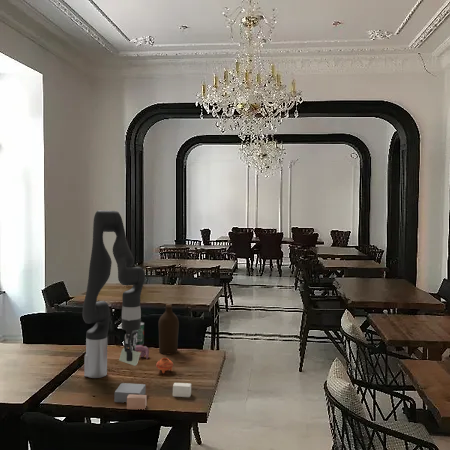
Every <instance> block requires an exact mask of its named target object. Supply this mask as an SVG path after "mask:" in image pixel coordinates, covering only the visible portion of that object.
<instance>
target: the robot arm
mask: <svg viewBox="0 0 450 450" xmlns="http://www.w3.org/2000/svg"><path fill="white" fill-rule="evenodd" d="M92 229H93V230H92V246H91V253H90V254H91V255H90V260H89V269H88V279H87V287H86V292H85V296H84V300H83V306H82V312H81V313H82V320H83V321H84V324H90V325H91V324H94V325H93V326H92V327H91V328H89V329H87V331H86V332H85V333H86V336H85V338H86V339H85V341H86V342H85V347H86V349H85V354H84V366H83V367H84V368H83V369H84V371H83V373H84V374H83V376H84V377H88V378H90V379H91V378H92V379H98V378H103V377H106V376H107V375H108V374H107V373H108V333H109V328H110V317H111V315H110V313H111V312H110V306H109V304H108V303H107V302H106V301H105V300H100V301H98V297H99V294H100V292H101V291H102V289H103V287H104V286H105V285H106V284H107V282H108V280H110V276H111V270H112V265H113V262H112V258H111V256H110V254H109V252H108V249H107V248H106V246H105V243H104V233H105V232H106V233H108V232H109V233H110V232H111V233H114V234H115V235H116V236H115V240H114V242H113V246H112V255H113V257H114V260H115V262H116V266H117V280H118V282H119V283H120V284H121V285H122V286H132V287H131V288H130V289H128V290H125V291H123V293H122V300H121V301H122V304H121V305H122V307H121V330H123V331H126V333H125V334H124V338H123V348H124V350H125V352H127V361H132V353H133V352H132V351H133V350H134V351H135V348H136V346H137V338H138V331H136V330H138V329H140V328H141V322H142V318H141V317H142V316H141V315H142V310H141V295H142V291H143V287H144V284H145V279H146V272H145V270H144V268H143V267H141V266H134V263H135V259H134V256H133V253H132V251H131V249H130V247H129V243H128V240H127V236H126V235H127V234H126V231H125V226H124V221H123V219H122V216H121V214H120V212H119V211H117V210H108V209H107V210H103V209H102V210H99V209H98V210H97V211H96V212H95V214H94V216H93V226H92ZM134 340H135V341H134Z"/></svg>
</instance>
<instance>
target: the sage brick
mask: <svg viewBox="0 0 450 450" xmlns="http://www.w3.org/2000/svg"><path fill="white" fill-rule="evenodd" d="M132 352H133V353H132V361H127V352H125V350H124V347H123V348H122V349H121V351H120V355H119V359H118V361H119V362H123V363H126V364H128V365H130V366H134V367H136V366H137V365H138V362H139V360H140V357H141V356H140V354H141V351H138V352H137V351H134V350H133V351H132Z"/></svg>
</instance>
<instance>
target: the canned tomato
mask: <svg viewBox="0 0 450 450" xmlns="http://www.w3.org/2000/svg"><path fill="white" fill-rule="evenodd" d="M136 331H138V338H137V345H142V346H143V345H144V343H145V322H143V321H141V328H140V329H138V330H136ZM134 341H135V340H134Z"/></svg>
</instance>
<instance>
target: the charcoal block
mask: <svg viewBox="0 0 450 450" xmlns="http://www.w3.org/2000/svg"><path fill="white" fill-rule="evenodd" d="M146 387H147V386H146V383H145V384H143V383H129V382H127V383H125V382H121V383H120V384H119V386H118V387H117V388H116V389H115V391H114V401H113V402H114V403H124V402H126V403H125V404H127V397H128V395H129V394H132V395H146Z"/></svg>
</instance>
